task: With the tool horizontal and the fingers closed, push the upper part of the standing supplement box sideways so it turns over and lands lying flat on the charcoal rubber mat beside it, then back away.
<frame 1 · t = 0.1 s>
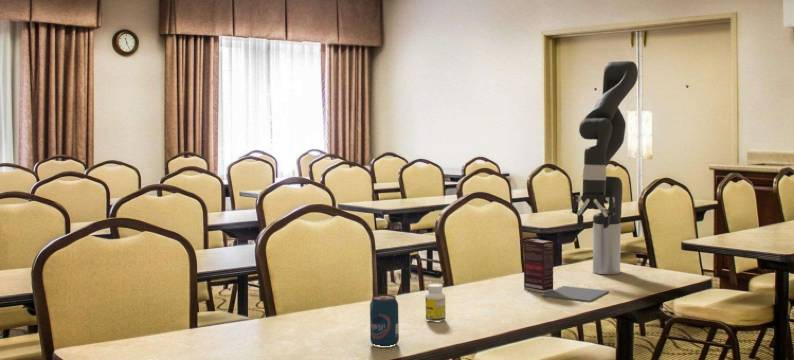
hand: (593, 227, 299), 17 cm above the table, tool pointing down, fingers open, 8 cm apart
supplement bottle: (435, 321, 246), on the table
soda can: (384, 345, 221), on the table
mat: (576, 294, 276), on the table
supplement box: (538, 291, 283), on the table
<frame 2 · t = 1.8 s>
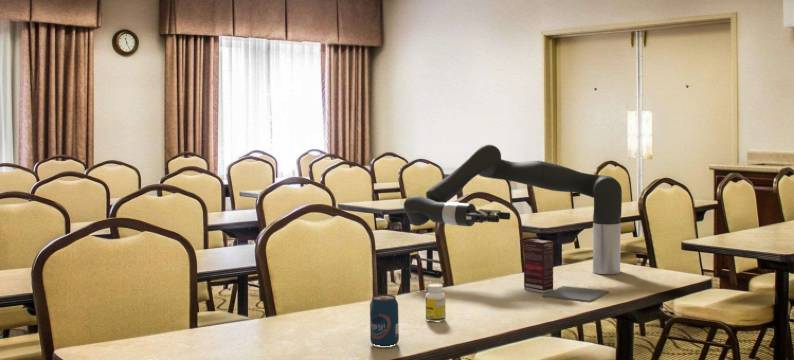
hand: (504, 217, 287), 22 cm above the table, tool horizontal, fingers open, 7 cm apart
nothing on the table moved.
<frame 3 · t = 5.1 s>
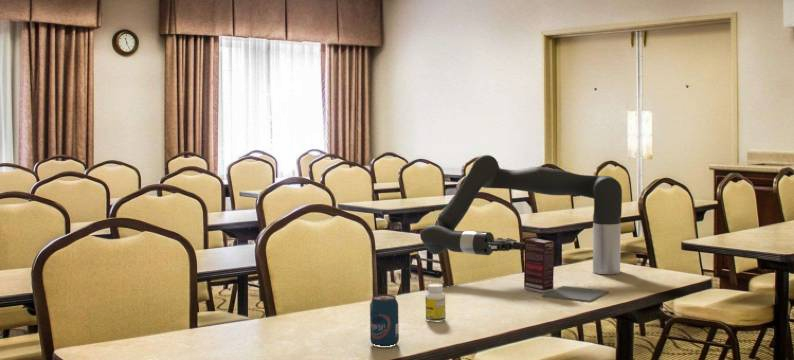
hand: (525, 246, 284), 14 cm above the table, tool horizontal, fingers closed
supplement box: (538, 290, 283), on the table, touching gripper
everything else where it was.
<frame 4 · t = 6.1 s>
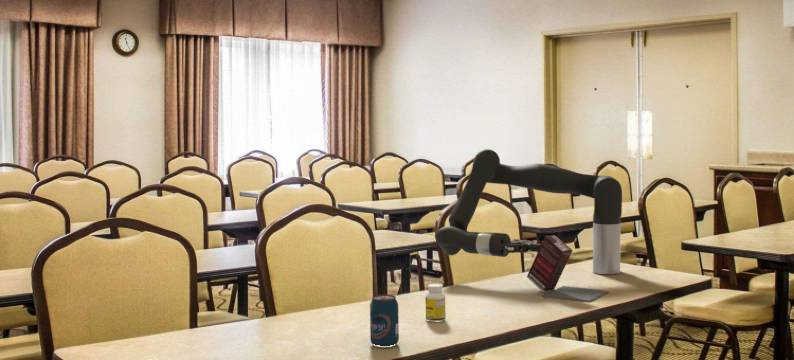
hand: (542, 248, 281), 14 cm above the table, tool horizontal, fingers closed
supplement box: (539, 284, 283), point 2 cm above the table
everything else where it was.
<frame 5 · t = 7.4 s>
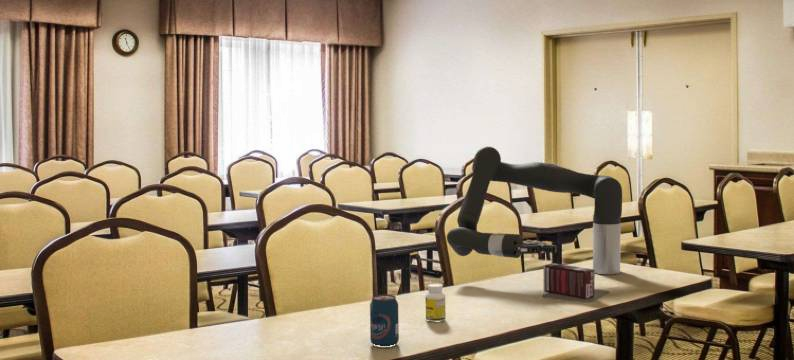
hand: (556, 249, 279), 13 cm above the table, tool horizontal, fingers closed
supplement box: (547, 276, 280), point 5 cm above the table, touching mat
everything else where it was.
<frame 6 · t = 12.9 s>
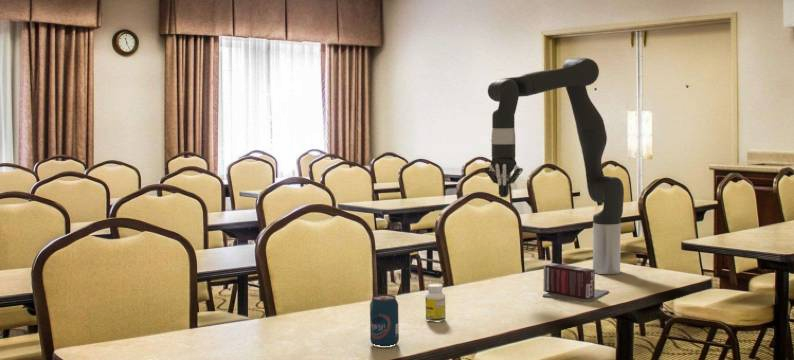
hand: (503, 196, 287), 29 cm above the table, tool pointing down, fingers closed
nothing on the table moved.
at the end: supplement box tilted 91°; supplement box 9.0 cm from the mat (horizontally); the gripper is holding nothing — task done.
